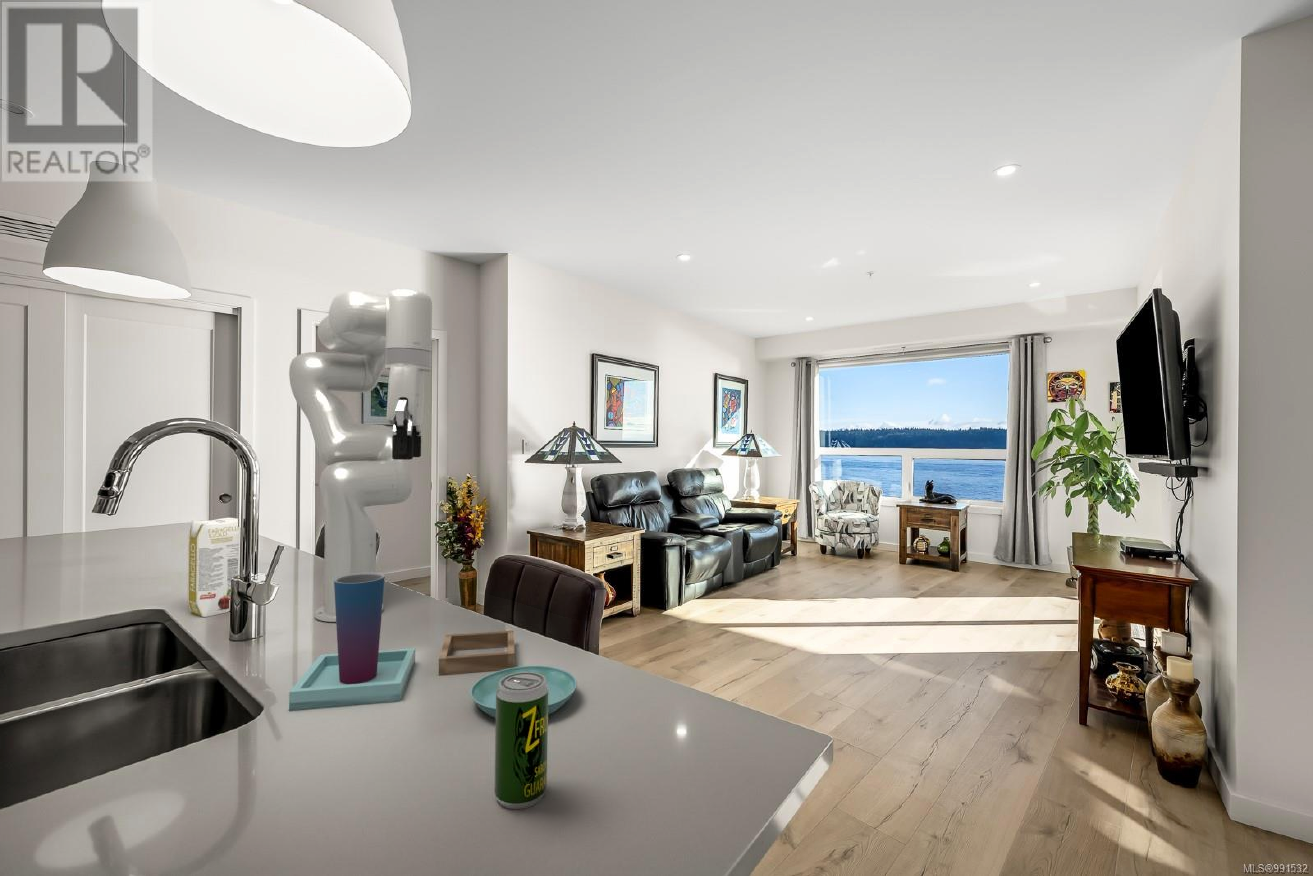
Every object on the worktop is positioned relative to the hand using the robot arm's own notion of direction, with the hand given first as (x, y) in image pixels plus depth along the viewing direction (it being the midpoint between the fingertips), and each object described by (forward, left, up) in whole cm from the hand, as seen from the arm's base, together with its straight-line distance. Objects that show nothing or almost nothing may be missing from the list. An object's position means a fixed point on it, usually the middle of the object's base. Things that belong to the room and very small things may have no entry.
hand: (407, 458), depth 105 cm
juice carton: (-29, -41, -34) cm, 60 cm away
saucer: (+27, +20, -34) cm, 48 cm away
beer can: (+49, +19, -34) cm, 62 cm away
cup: (+16, -4, -32) cm, 36 cm away
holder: (+9, +13, -33) cm, 37 cm away
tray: (+16, -4, -33) cm, 37 cm away
